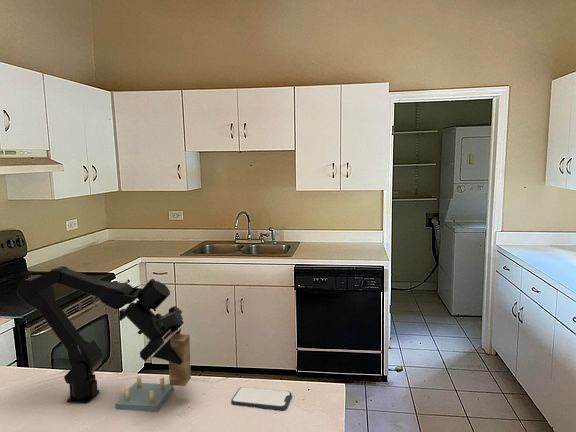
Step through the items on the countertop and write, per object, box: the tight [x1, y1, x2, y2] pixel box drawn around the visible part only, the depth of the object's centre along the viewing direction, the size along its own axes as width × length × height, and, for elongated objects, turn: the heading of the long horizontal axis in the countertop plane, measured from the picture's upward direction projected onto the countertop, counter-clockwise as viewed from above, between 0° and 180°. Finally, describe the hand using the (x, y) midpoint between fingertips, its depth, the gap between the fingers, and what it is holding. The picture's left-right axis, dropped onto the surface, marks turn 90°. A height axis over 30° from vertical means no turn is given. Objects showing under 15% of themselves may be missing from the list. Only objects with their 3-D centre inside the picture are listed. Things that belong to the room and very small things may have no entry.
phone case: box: [230, 386, 293, 412], centre depth 125 cm, size 9×2×16 cm
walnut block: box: [168, 333, 191, 387], centre depth 123 cm, size 4×4×13 cm
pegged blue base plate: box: [114, 375, 175, 413], centre depth 126 cm, size 12×12×4 cm
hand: (184, 359), depth 123 cm, fingers closed on walnut block, 4 cm apart
